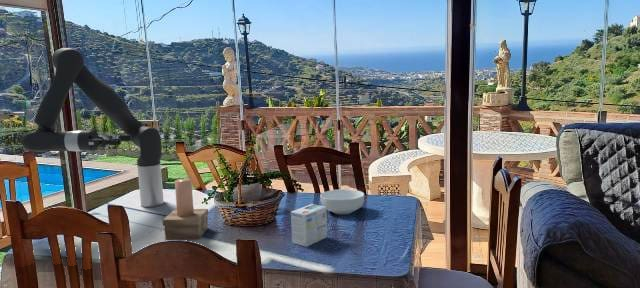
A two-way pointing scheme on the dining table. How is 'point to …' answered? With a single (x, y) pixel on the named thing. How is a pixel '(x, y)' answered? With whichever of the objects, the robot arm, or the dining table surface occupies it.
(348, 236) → the dining table surface
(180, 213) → the tan cylinder
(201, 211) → the tan square block
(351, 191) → the cereal bowl
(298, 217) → the light bulb box
